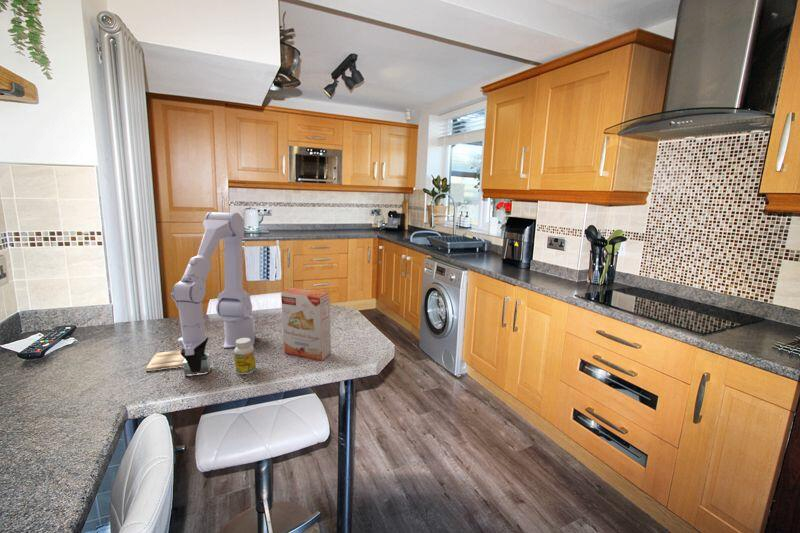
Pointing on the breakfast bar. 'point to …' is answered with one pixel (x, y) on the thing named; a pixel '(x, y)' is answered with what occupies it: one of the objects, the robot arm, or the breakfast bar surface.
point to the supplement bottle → (244, 356)
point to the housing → (204, 365)
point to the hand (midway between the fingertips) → (197, 367)
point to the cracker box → (306, 323)
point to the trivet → (166, 360)
